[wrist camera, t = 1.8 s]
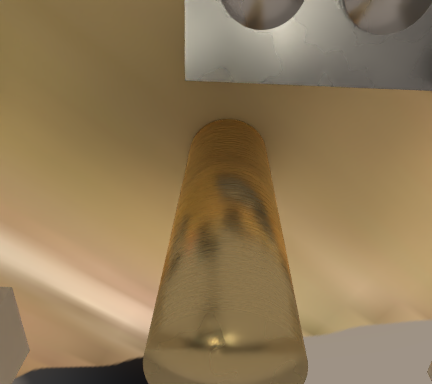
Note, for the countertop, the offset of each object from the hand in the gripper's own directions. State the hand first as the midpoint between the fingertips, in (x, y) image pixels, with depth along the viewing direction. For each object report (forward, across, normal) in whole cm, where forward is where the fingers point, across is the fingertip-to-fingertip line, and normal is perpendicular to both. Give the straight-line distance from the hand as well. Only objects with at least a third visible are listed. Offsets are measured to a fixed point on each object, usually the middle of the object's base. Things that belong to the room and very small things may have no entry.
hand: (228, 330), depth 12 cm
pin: (+12, 0, 0) cm, 12 cm away
